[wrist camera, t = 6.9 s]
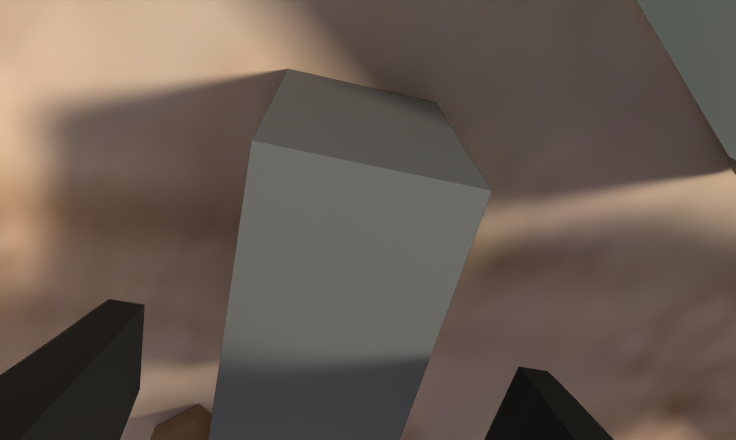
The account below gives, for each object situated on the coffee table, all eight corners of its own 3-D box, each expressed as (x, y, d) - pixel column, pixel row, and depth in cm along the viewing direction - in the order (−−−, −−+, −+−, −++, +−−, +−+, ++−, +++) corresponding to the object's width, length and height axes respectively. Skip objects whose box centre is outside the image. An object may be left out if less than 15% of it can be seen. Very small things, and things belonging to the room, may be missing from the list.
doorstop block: (367, 333, 17) (377, 499, 12) (247, 314, 17) (202, 478, 12) (435, 102, 14) (491, 190, 9) (288, 67, 14) (251, 140, 8)
